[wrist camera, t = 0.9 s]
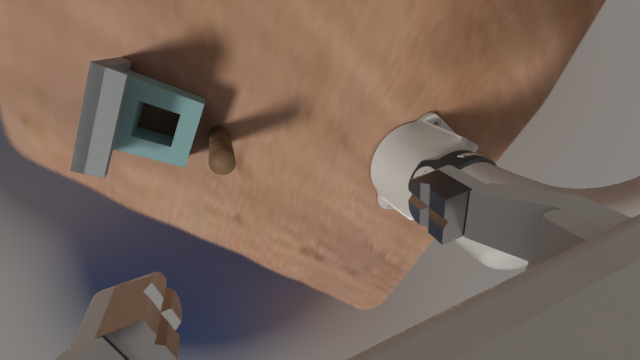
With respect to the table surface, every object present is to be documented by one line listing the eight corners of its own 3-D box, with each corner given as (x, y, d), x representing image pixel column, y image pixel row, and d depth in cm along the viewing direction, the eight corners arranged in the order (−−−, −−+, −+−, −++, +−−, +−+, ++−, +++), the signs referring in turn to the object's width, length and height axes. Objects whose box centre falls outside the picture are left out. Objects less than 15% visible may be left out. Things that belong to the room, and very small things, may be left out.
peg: (232, 129, 37) (239, 155, 28) (226, 147, 38) (231, 177, 29) (212, 123, 36) (213, 147, 27) (206, 141, 36) (205, 170, 28)
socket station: (207, 90, 34) (206, 104, 26) (185, 162, 37) (178, 193, 29) (121, 57, 30) (90, 61, 22) (103, 141, 32) (70, 170, 25)
